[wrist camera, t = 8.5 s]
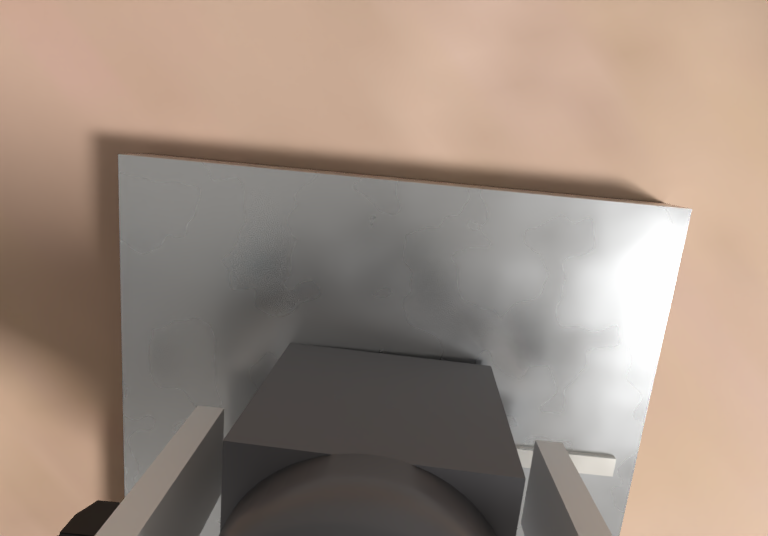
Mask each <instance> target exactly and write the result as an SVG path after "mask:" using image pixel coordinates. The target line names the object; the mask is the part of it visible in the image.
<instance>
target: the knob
mask: <svg viewBox="0 0 768 536" xmlns="http://www.w3.org/2000/svg"><path fill="white" fill-rule="evenodd" d="M525 480H526V478H525V475H524V471H523V468H522V465H521V462H520V458H519V455H518V452H517V449H516V446H515V442H514V439H513V436H512V433H511V429H510V426H509V423H508V420H507V416H506V413H505V410H504V407H503V403H502V400H501V397H500V394H499V390H498V387H497V384H496V381H495V378H494V374H493V371H492V368H491V366H487V365H478V364H470V363H461V362H452V361H444V360H435V359H426V358H418V357H409V356H400V355H392V354H383V353H374V352H366V351H357V350H348V349H340V348H331V347H322V346H314V345H305V344H296V343H290V344H289V345H288V346H287V348H286V349H285V351H284V352H283V354H282V355H281V357H280V358H279V360H278V361H277V362H276V364H275V365H274V367H273V368H272V370H271V371H270V373H269V374H268V376H267V377H266V378H265V380H264V381H263V383H262V384H261V386H260V387H259V389H258V390H257V391H256V393H255V394H254V396H253V397H252V399H251V400H250V402H249V403H248V405H247V406H246V407H245V409H244V410H243V412H242V413H241V415H240V416H239V418H238V419H237V421H236V422H235V423H234V425H233V426H232V428H231V429H230V431H229V432H228V434H227V435H226V437H225V438H224V439H223V447H222V483H221V520H220V534H219V536H516V532H517V526H518V520H519V515H520V509H521V503H522V497H523V491H524V486H525Z"/></svg>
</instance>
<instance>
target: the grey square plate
mask: <svg viewBox="0 0 768 536" xmlns="http://www.w3.org/2000/svg"><path fill="white" fill-rule="evenodd" d="M118 178H119V230H120V281H121V333H122V385H123V436H124V488H125V497H126V496H127V494H128V493H129V492H130V490H131V489H132V488H133V487H134V485H135V484H136V483H137V482H138V480H139V479H140V478H141V477H142V475H143V474H144V473H145V472H146V470H147V469H148V468H149V466H150V465H151V464H152V463H153V461H154V460H155V459H156V458H157V456H158V455H159V454H160V453H161V451H162V450H163V449H164V448H165V446H166V445H167V444H168V442H169V441H170V440H171V439H172V437H173V436H174V435H175V434H176V432H177V431H178V430H179V429H180V427H181V426H182V425H183V424H184V422H185V421H186V420H187V418H188V417H189V416H190V415H191V413H192V412H193V411H194V410H195V408H196V407H197V406H207V407H217V408H224V434H223V439H224V438H225V437H226V435H227V434H228V432H229V431H230V429H231V428H232V426H233V425H234V423H235V422H236V421H237V419H238V418H239V416H240V415H241V413H242V412H243V410H244V409H245V407H246V406H247V405H248V403H249V402H250V400H251V399H252V397H253V396H254V394H255V393H256V391H257V390H258V389H259V387H260V386H261V384H262V383H263V381H264V380H265V378H266V377H267V376H268V374H269V373H270V371H271V370H272V368H273V367H274V365H275V364H276V362H277V361H278V360H279V358H280V357H281V355H282V354H283V352H284V351H285V349H286V348H287V346H288V345H289V344H290V343H296V344H305V345H314V346H322V347H331V348H340V349H348V350H357V351H366V352H374V353H383V354H392V355H400V356H409V357H418V358H426V359H435V360H444V361H452V362H461V363H470V364H478V365H487V366H491V368H492V371H493V374H494V378H495V381H496V384H497V387H498V390H499V394H500V397H501V400H502V403H503V407H504V410H505V413H506V416H507V420H508V423H509V426H510V429H511V433H512V436H513V439H514V442H515V446H516V449H517V452H518V455H519V458H520V462H521V465H522V468H523V471H524V475H525V478H526V480H525V486H524V491H523V497H522V503H521V509H520V515H519V520H518V526H517V532H516V536H525V535H524V532H523V529H522V526H521V520H522V514H523V508H524V502H525V497H526V491H527V485H528V479H529V473H530V468H531V462H532V456H533V450H534V445H535V440H542V441H552V442H562V443H563V445H564V447H565V449H566V450H567V452H568V454H569V456H570V458H571V460H572V462H573V463H574V465H575V467H576V469H577V471H578V473H579V475H580V476H581V478H582V480H583V482H584V484H585V486H586V488H587V489H588V491H589V493H590V495H591V497H592V499H593V501H594V502H595V504H596V506H597V508H598V510H599V512H600V514H601V515H602V517H603V519H604V521H605V523H606V525H607V527H608V528H609V530H610V532H611V534H612V536H619V535H620V530H621V526H622V521H623V517H624V512H625V508H626V503H627V499H628V494H629V490H630V485H631V481H632V476H633V472H634V467H635V463H636V458H637V454H638V449H639V445H640V440H641V436H642V431H643V427H644V422H645V418H646V413H647V409H648V404H649V400H650V395H651V391H652V386H653V382H654V377H655V373H656V368H657V364H658V359H659V355H660V351H661V346H662V342H663V337H664V333H665V328H666V324H667V319H668V315H669V310H670V306H671V301H672V297H673V292H674V288H675V283H676V279H677V274H678V270H679V265H680V261H681V256H682V252H683V247H684V243H685V238H686V234H687V229H688V225H689V220H690V216H691V211H692V209H689V208H685V207H680V206H675V205H671V204H666V203H656V202H646V201H635V200H625V199H614V198H604V197H593V196H583V195H572V194H562V193H551V192H541V191H531V190H520V189H510V188H499V187H489V186H478V185H468V184H457V183H447V182H436V181H426V180H416V179H405V178H395V177H384V176H374V175H363V174H353V173H342V172H332V171H321V170H311V169H301V168H290V167H280V166H269V165H259V164H248V163H238V162H227V161H217V160H206V159H196V158H186V157H175V156H165V155H154V154H144V153H142V154H118ZM220 520H221V495H220V497H219V499H218V501H217V503H216V505H215V507H214V508H213V510H212V512H211V514H210V516H209V518H208V520H207V522H206V524H205V526H204V528H203V530H202V531H201V533H200V535H199V536H219V534H220Z"/></svg>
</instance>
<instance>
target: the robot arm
mask: <svg viewBox="0 0 768 536" xmlns="http://www.w3.org/2000/svg"><path fill="white" fill-rule="evenodd" d="M223 434H224V408H217V407H207V406H197V407H196V408H195V410H194V411H193V412H192V413H191V415H190V416H189V417H188V418H187V420H186V421H185V422H184V424H183V425H182V426H181V427H180V429H179V430H178V431H177V432H176V434H175V435H174V436H173V437H172V439H171V440H170V441H169V442H168V444H167V445H166V446H165V448H164V449H163V450H162V451H161V453H160V454H159V455H158V456H157V458H156V459H155V460H154V461H153V463H152V464H151V465H150V466H149V468H148V469H147V470H146V472H145V473H144V474H143V475H142V477H141V478H140V479H139V480H138V482H137V483H136V484H135V485H134V487H133V488H132V489H131V490H130V492H129V493H128V494H127V496H126V497H125V498H124V499H123V501H122V502H121V503H118V502H108V501H96V502H95V503H93V504H92V505H90V506H88V507H87V508H85V509H84V510H82V511H80V512H79V513H77V514H76V515H75V516H74V517H73V518H72V519H71V520H70V521H69V523H68V524H67V525H66V526H65V527H64V528H63V529H62V530H61V532H60V534H59V536H199V535H200V533H201V531H202V530H203V528H204V526H205V524H206V522H207V520H208V518H209V516H210V514H211V512H212V510H213V508H214V507H215V505H216V503H217V501H218V499H219V497H220V495H221V483H222V447H223ZM521 526H522V529H523V532H524V535H525V536H612V534H611V532H610V530H609V528H608V527H607V525H606V523H605V521H604V519H603V517H602V515H601V514H600V512H599V510H598V508H597V506H596V504H595V502H594V501H593V499H592V497H591V495H590V493H589V491H588V489H587V488H586V486H585V484H584V482H583V480H582V478H581V476H580V475H579V473H578V471H577V469H576V467H575V465H574V463H573V462H572V460H571V458H570V456H569V454H568V452H567V450H566V449H565V447H564V445H563V443H562V442H552V441H542V440H535V445H534V450H533V456H532V462H531V468H530V473H529V479H528V485H527V491H526V497H525V502H524V508H523V514H522V520H521Z"/></svg>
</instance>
